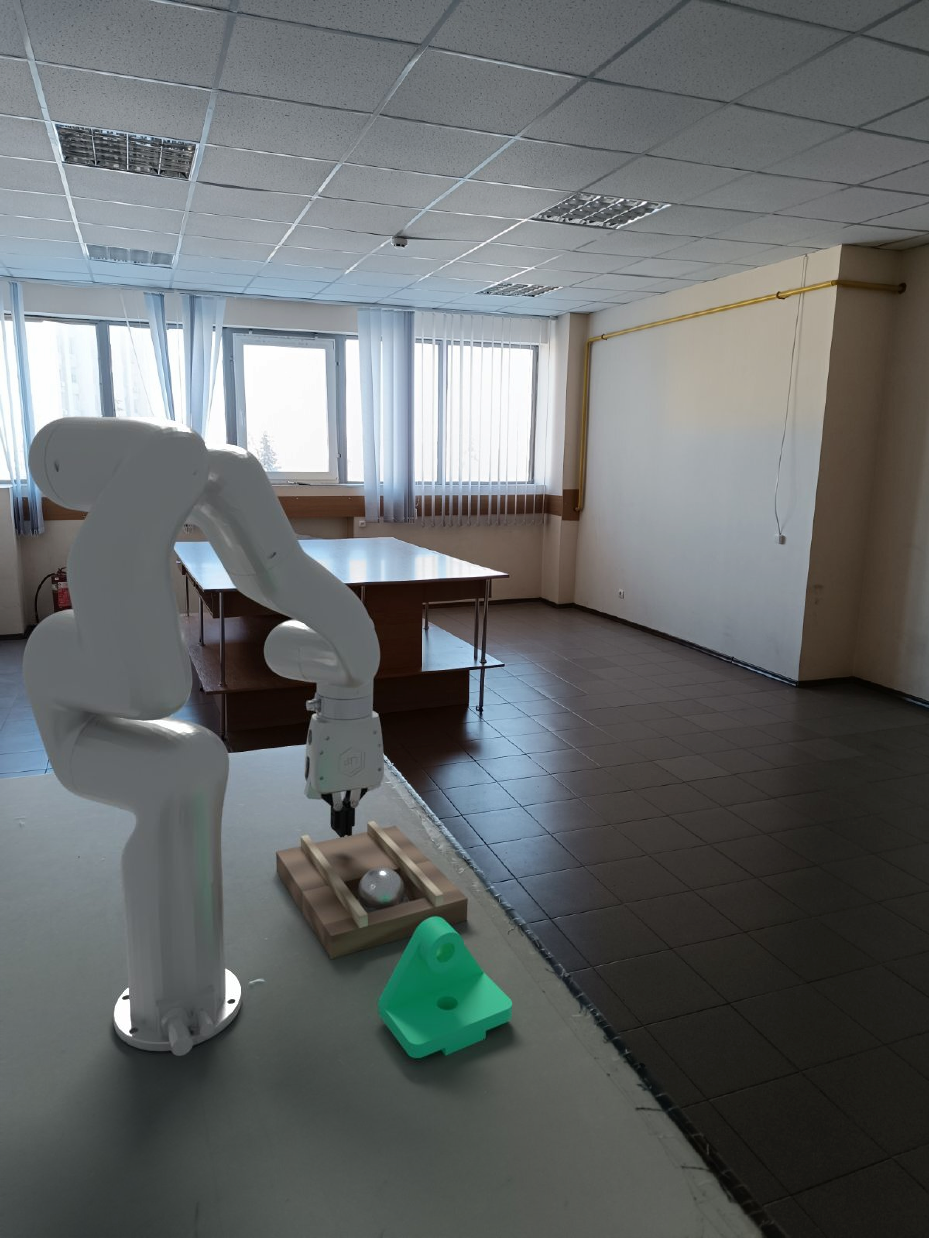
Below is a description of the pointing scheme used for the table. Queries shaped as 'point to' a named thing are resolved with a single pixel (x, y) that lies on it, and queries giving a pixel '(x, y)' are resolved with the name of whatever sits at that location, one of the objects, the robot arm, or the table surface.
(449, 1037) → the camera mount
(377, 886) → the steel ball
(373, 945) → the walnut board
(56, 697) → the robot arm
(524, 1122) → the table surface
